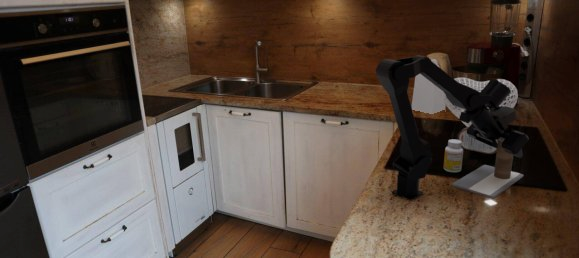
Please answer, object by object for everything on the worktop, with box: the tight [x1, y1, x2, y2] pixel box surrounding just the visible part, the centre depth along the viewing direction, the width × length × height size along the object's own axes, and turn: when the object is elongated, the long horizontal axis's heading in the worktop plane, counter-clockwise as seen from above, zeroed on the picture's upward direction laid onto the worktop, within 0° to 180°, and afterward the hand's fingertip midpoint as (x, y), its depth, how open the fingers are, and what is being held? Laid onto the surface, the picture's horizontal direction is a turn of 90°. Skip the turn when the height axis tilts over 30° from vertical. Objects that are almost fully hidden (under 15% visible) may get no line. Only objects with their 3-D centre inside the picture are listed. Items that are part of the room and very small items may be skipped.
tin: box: [457, 126, 498, 155], centre depth 150 cm, size 15×3×8 cm, turn 47°
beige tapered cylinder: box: [494, 139, 514, 179], centre depth 126 cm, size 5×5×13 cm
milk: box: [411, 59, 447, 114], centre depth 202 cm, size 12×12×26 cm
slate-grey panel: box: [451, 164, 524, 199], centre depth 126 cm, size 22×12×1 cm, turn 132°
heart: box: [443, 77, 519, 127], centre depth 172 cm, size 28×16×22 cm, turn 68°
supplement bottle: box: [443, 138, 464, 173], centre depth 134 cm, size 5×5×10 cm
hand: (509, 151), depth 126 cm, fingers open, 9 cm apart
